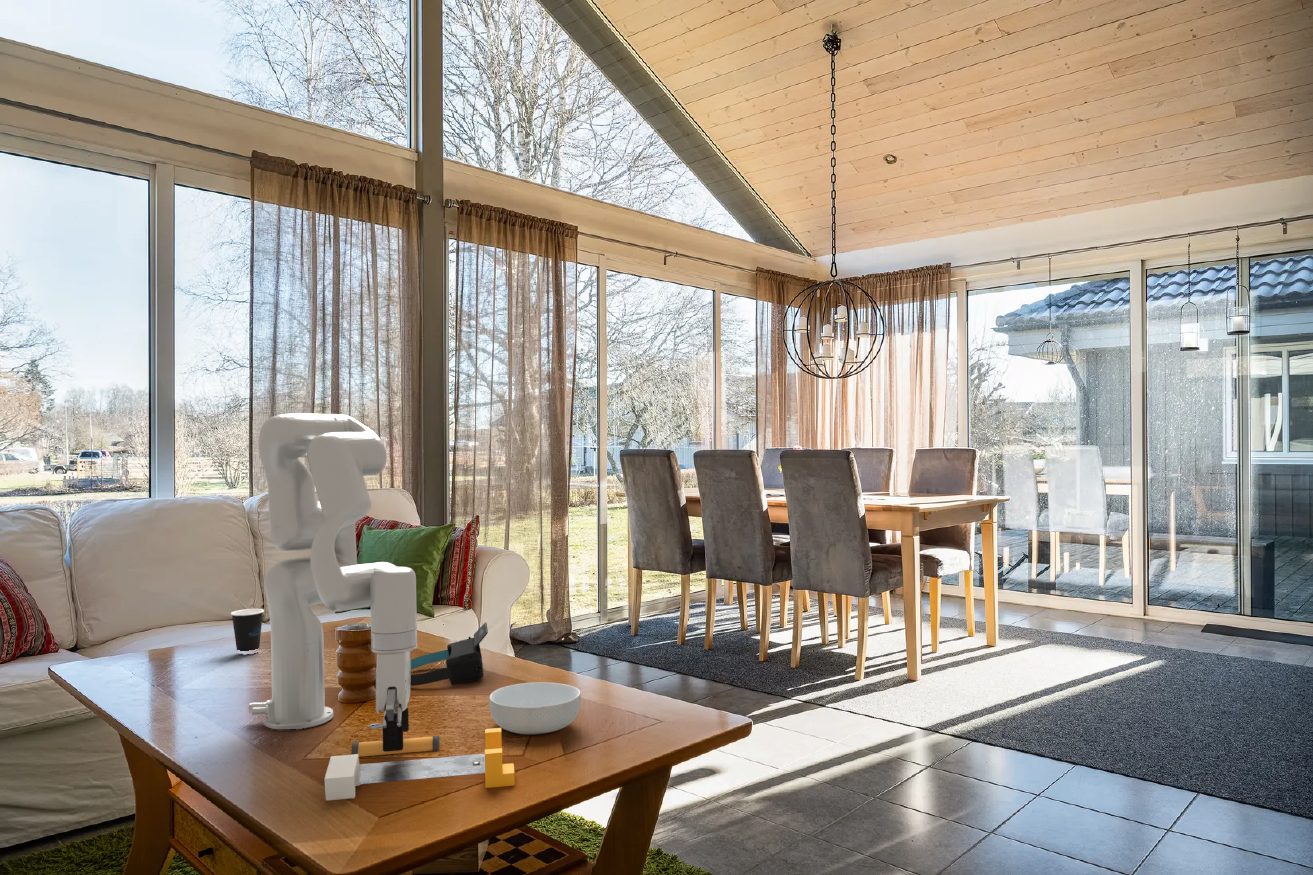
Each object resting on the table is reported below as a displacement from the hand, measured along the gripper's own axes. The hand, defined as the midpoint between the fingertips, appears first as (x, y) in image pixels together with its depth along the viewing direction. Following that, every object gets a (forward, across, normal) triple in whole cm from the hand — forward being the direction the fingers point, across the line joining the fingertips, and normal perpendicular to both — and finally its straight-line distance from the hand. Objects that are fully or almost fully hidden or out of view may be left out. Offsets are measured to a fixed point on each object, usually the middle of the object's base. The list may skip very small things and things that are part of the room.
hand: (396, 740), depth 150 cm
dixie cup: (+3, -92, -47) cm, 103 cm away
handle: (+3, 0, 0) cm, 3 cm away
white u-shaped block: (+2, +17, -6) cm, 18 cm away
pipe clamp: (+3, +15, +17) cm, 23 cm away
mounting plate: (+3, +10, +4) cm, 11 cm away
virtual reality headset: (+3, -53, +5) cm, 54 cm away
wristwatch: (+3, -11, -2) cm, 12 cm away
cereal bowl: (+3, -8, +24) cm, 25 cm away
